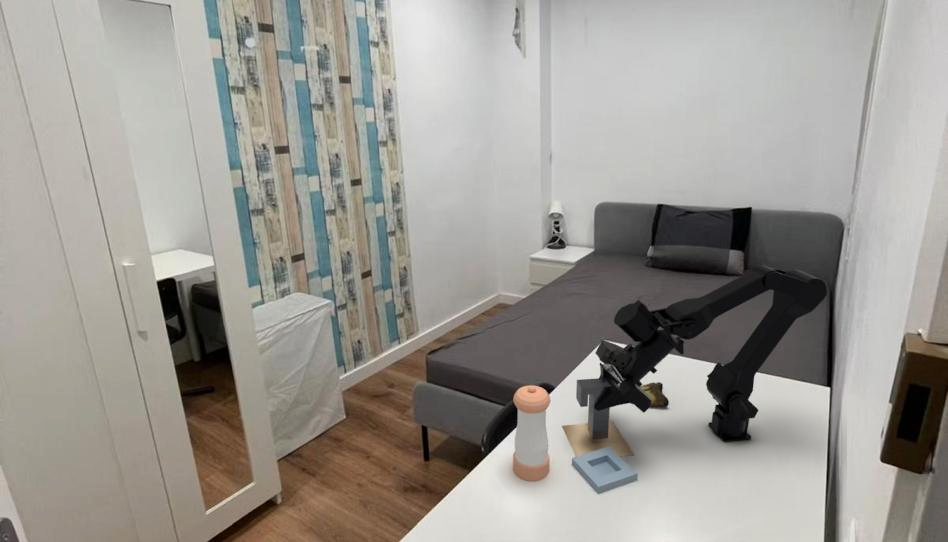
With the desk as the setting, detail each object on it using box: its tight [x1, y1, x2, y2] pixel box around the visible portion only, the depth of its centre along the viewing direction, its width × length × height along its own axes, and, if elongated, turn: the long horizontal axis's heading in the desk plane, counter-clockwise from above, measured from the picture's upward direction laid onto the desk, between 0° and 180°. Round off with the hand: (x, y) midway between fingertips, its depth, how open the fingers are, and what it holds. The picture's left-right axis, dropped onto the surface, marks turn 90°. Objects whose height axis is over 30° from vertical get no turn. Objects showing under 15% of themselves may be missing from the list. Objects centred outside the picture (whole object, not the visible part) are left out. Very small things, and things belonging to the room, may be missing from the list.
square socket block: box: [571, 447, 638, 495], centre depth 101 cm, size 9×9×2 cm
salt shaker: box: [512, 385, 551, 482], centre depth 100 cm, size 7×7×19 cm
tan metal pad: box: [561, 420, 635, 458], centre depth 111 cm, size 12×12×1 cm
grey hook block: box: [575, 377, 611, 439], centre depth 108 cm, size 6×3×13 cm, turn 94°
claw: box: [640, 381, 670, 408], centre depth 130 cm, size 20×10×3 cm, turn 38°
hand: (592, 404), depth 108 cm, fingers closed on grey hook block, 3 cm apart
